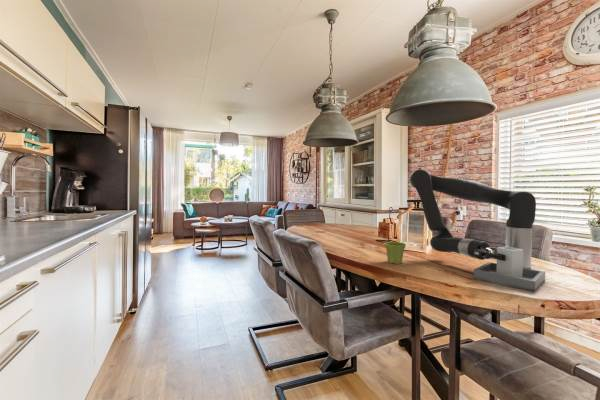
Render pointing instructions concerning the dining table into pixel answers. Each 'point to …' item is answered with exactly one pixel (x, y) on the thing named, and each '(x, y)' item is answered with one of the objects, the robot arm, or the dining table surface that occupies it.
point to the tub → (510, 262)
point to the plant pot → (395, 251)
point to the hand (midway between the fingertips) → (513, 257)
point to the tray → (510, 277)
